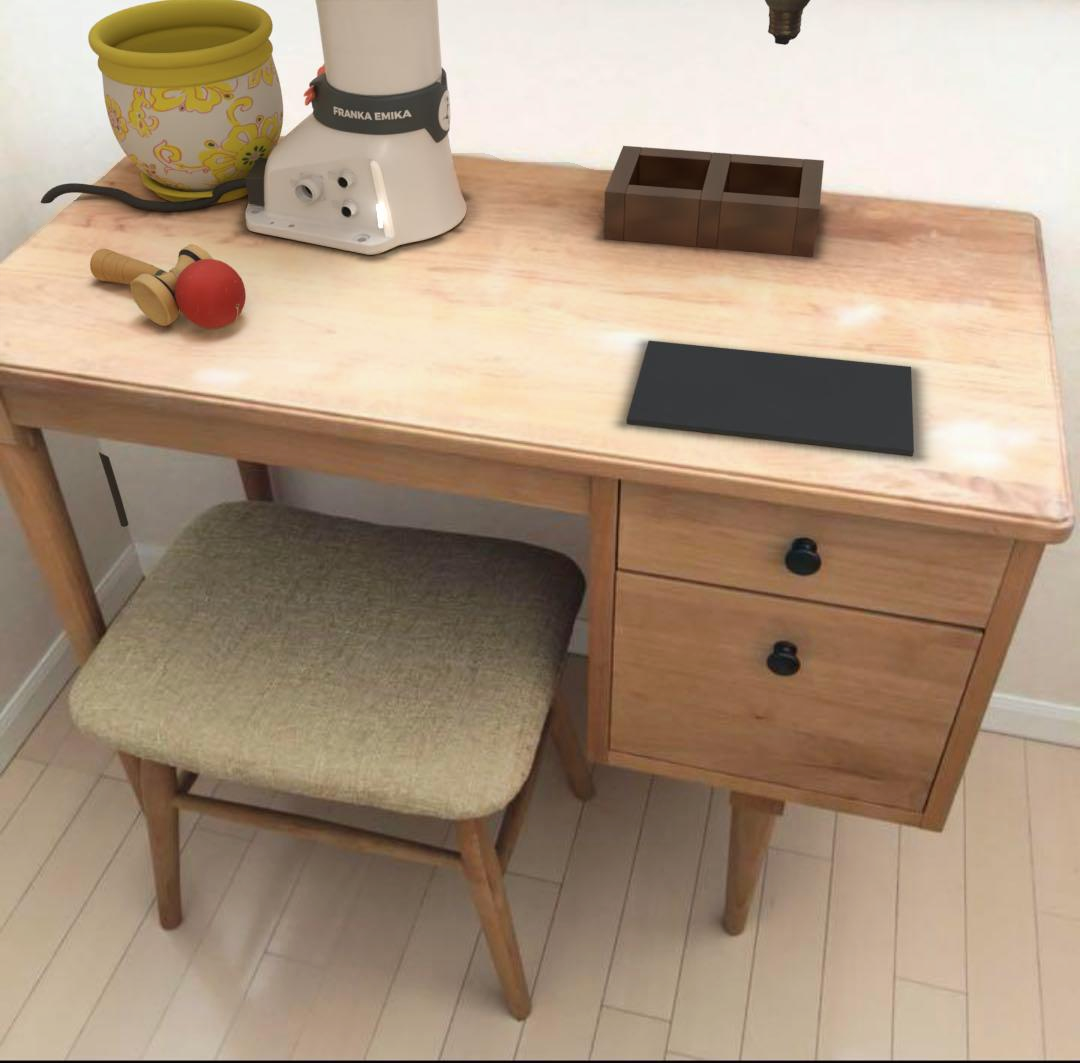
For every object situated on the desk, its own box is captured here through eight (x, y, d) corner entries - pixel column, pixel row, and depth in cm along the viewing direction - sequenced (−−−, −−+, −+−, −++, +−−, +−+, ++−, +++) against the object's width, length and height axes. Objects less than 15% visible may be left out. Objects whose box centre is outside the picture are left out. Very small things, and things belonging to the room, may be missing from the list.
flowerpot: (321, 156, 137) (301, 4, 126) (247, 226, 124) (218, 63, 113) (178, 140, 141) (147, -10, 130) (92, 206, 128) (50, 46, 117)
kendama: (73, 312, 113) (202, 344, 104) (59, 244, 110) (190, 271, 101) (141, 292, 119) (269, 321, 109) (129, 227, 116) (260, 251, 106)
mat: (626, 423, 96) (626, 418, 96) (648, 345, 105) (648, 340, 105) (912, 455, 93) (914, 450, 92) (910, 371, 101) (911, 366, 101)
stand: (603, 239, 120) (604, 191, 117) (621, 191, 129) (623, 145, 126) (812, 257, 117) (819, 208, 114) (817, 206, 125) (823, 160, 122)
